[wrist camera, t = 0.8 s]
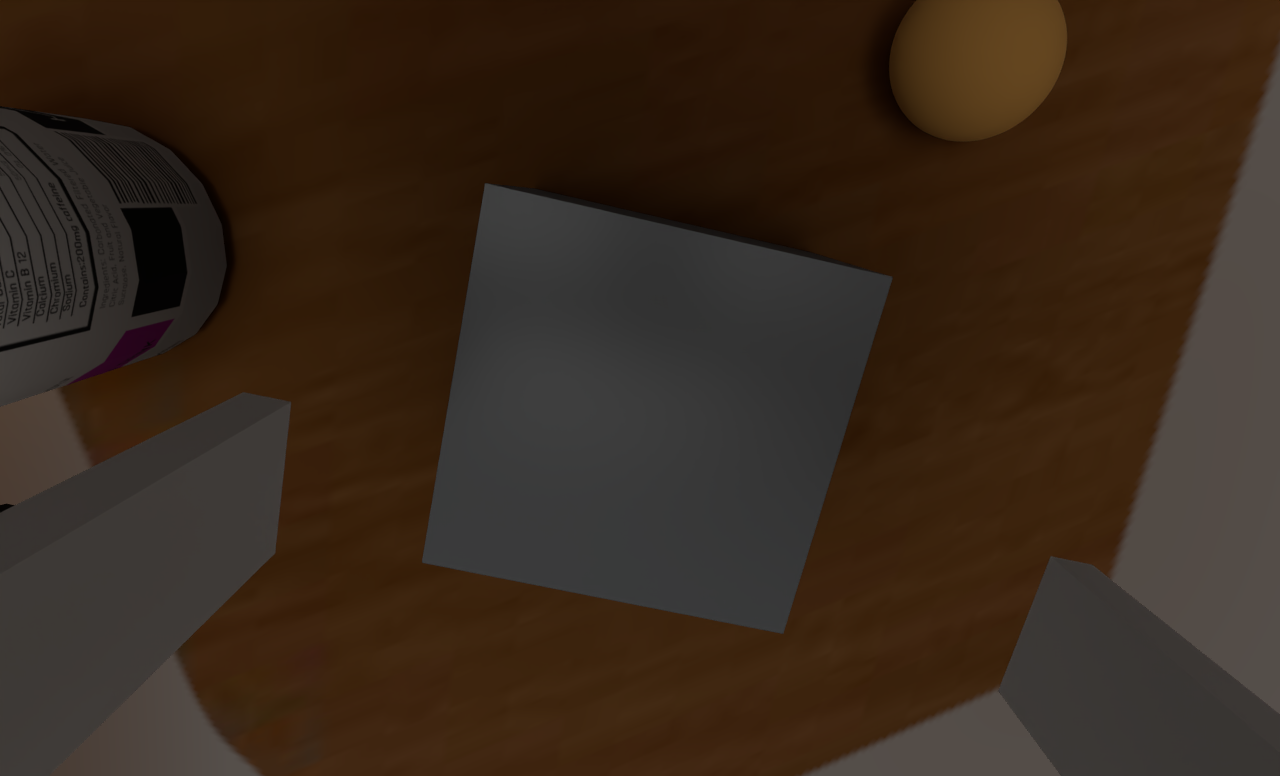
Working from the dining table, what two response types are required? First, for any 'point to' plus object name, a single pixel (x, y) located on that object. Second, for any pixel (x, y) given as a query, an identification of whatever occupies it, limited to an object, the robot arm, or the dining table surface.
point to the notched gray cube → (646, 407)
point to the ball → (976, 64)
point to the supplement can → (96, 250)
